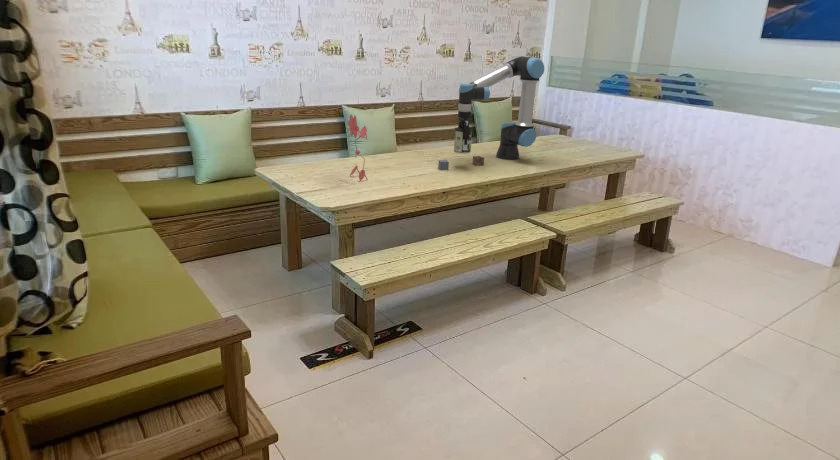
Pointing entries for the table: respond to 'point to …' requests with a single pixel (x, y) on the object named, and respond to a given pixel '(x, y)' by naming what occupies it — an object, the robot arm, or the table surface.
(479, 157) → the walnut block
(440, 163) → the blue-gray block
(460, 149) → the coffee can
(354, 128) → the red plant
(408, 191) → the table surface
